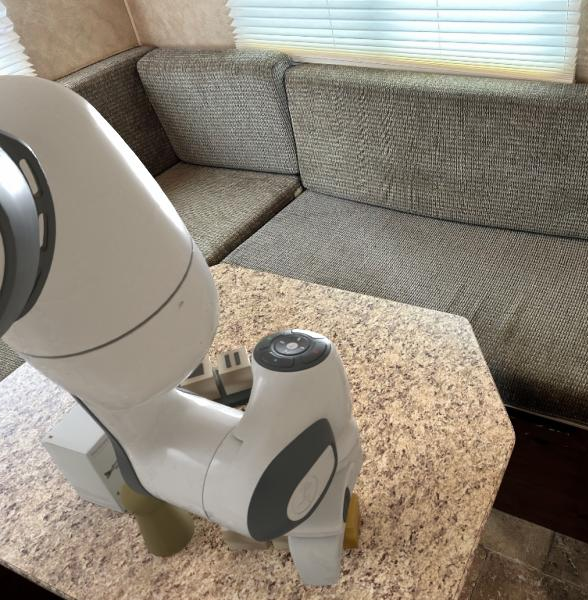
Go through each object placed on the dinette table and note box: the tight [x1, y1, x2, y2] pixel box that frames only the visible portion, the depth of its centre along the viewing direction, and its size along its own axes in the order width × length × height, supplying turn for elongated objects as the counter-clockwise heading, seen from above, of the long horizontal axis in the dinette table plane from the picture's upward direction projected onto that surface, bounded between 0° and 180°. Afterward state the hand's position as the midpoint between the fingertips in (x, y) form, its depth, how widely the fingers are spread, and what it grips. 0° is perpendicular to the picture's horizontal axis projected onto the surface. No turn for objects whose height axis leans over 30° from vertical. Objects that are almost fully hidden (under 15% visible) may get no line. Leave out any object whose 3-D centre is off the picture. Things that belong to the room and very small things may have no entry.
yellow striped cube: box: [343, 492, 362, 549], centre depth 73 cm, size 5×5×5 cm
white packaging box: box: [40, 402, 127, 514], centre depth 78 cm, size 7×7×13 cm
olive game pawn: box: [120, 482, 196, 558], centre depth 72 cm, size 6×6×11 cm
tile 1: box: [181, 356, 221, 400], centre depth 91 cm, size 5×5×5 cm
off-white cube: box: [220, 526, 270, 551], centre depth 73 cm, size 5×5×5 cm
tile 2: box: [215, 345, 253, 395], centre depth 92 cm, size 5×5×5 cm
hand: (338, 523), depth 73 cm, fingers closed on yellow striped cube, 4 cm apart
